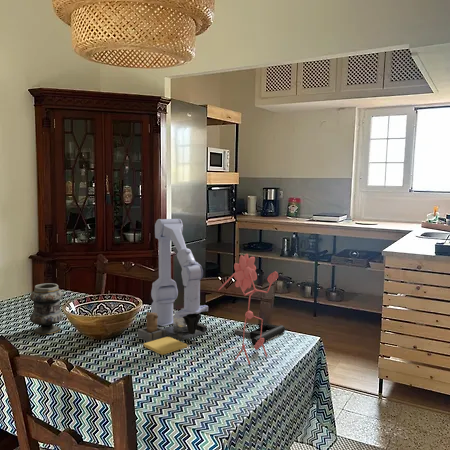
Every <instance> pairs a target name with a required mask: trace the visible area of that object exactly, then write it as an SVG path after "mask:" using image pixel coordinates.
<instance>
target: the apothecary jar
mask: <svg viewBox="0 0 450 450" xmlns="http://www.w3.org/2000/svg"><path fill="white" fill-rule="evenodd" d="M63 296H64V293H63V292H62V290H60V288H59V285H58V284H57V283H40V284H36V285H34V289H33V291H32V292H31V294H30V295H29V298H30V301H32V302H33V308H32V309H33V312H32V313H31V314H30V316H29V320H30V322H31V323H33V325H36V326H38V327H36V328H35V329H34V330H33V334H34V333H35V335H37V334H39V335H38V336H47V335H46V334H49V335H53V333H54V334H56V332H57V333H59V332H60V331H61V327H60V326H58V325H56V324H58V323H60V322H61V321H62V320H63V318H64V312H62V311H61V306H60V305H61V303H60V301H61V300H62V298H63ZM58 331H59V332H58Z"/></svg>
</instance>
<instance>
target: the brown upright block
mask: <svg viewBox="0 0 450 450" xmlns="http://www.w3.org/2000/svg"><path fill="white" fill-rule="evenodd" d="M145 315H146V327H147V332H149V333H152V332H155V331H157V326H158V325H157V318H158V316H157V313H151V311H150V312H149V311H146V313H145Z"/></svg>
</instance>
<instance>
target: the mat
mask: <svg viewBox="0 0 450 450" xmlns="http://www.w3.org/2000/svg"><path fill="white" fill-rule="evenodd" d="M143 347H144V348H147V349H149V350H150V351H153V352H155V353H157V354H160V355H161V356H163V355H166V354H170V353H173V352H176V351H178V350H179V351H180V350H182V349H185V348H187V347H188V344H187V343H186V342H182V341H181V340H179V339H176V338H174V337H172V336H169V335H167V336H166V337H164V338H161V339H157V340H154V341H150V342H147V341H146V342H144V343H143Z"/></svg>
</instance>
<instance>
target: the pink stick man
mask: <svg viewBox="0 0 450 450" xmlns="http://www.w3.org/2000/svg"><path fill="white" fill-rule="evenodd" d="M255 262H256V257H255V256H250V257H249V254H248V253H246V254H244V255H242V254H241V255H240V256H239V260H238V263H237V262H235V263H234V265H233V267H234V273H232V275H231V276H229V277H228V279H227V280H225V281H224V283H223V284H221V286H220V287H219V289H218V291H220V290H221V289H222V288H223V287H224V286H225V285H226V284H227V283H228V282H229V281H231V279H232V278H234V280H236V281H235V284H234V286H235V288H240V290H241V291H242V294H243V296H244V297H246V296H248V295H249V297H248V305H247V311H246V312H245V315H244V316H245V319H244V325H243V330H244V331H243V336H242V346H241V349H240V351H239V352H238V354H237V356H236V357H235V358H234V360H233V361H234V362H236V361H237V359H238V358H239V357H240V355H241V353H242V352H243V351H244V355H245V357H246V360H247V363H248V365H251V361H250V359H249V356H248V353H247V350H246V348H245V347H246V344H244V343H245V336H244V332H245V331H246V329H245V328H246V324H247V320H251V319H253V318H256V319H259V320H261V323H260V324H261V334H262V323H264V320H263V318H260V317H259V316H258V317H257V316H255V315H254V312H253V311H251V310H250V305H251V298H252V297H251V296H253V294H255V293H256V292H258V293H259V292H260V293H265V294H268V293H269V291H270V289H271V286H272V285H273V283H274V282H276V281H277V280H278V278H279V273H278V271H276V270H275V271H274V272H271V273H270V274H269V275H268V276H267V282H268V283H269V286H268V288H267V290H261V289H257V288H256V285H255V282H254V281H257V279H258V274H257V271H256V270H257V267H256V264H255ZM251 287H253V290H250V291H248V292H246V291H247V289H251ZM245 292H246V293H245ZM261 334H260V339H259V340H258V341H257V342H256V344H255V345H253V346H254V349H255V350H256V351H258V350H259V349H260V348H261V347H262V349H263V352H264V355H265V357H268V353H267V350H266V348H265V346H264V343H265V342H264V338H262V339H261ZM238 347H240V346H237V348H238ZM234 348H236V346H234V347H233V346H232V347H231V348H226V349H223V351H221V352H220V354H221V353H223V352H225V351H227V350H230V349H234ZM275 351H277V352H278V350H277V349H276V350H275Z"/></svg>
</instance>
